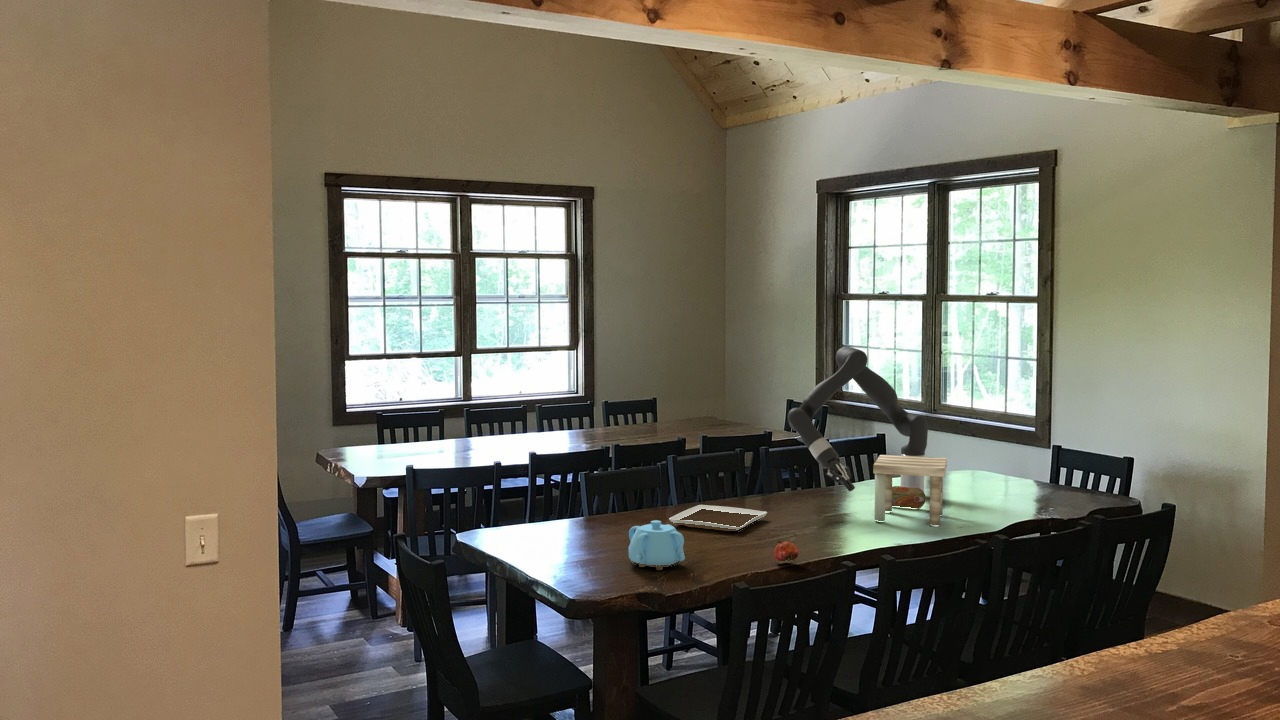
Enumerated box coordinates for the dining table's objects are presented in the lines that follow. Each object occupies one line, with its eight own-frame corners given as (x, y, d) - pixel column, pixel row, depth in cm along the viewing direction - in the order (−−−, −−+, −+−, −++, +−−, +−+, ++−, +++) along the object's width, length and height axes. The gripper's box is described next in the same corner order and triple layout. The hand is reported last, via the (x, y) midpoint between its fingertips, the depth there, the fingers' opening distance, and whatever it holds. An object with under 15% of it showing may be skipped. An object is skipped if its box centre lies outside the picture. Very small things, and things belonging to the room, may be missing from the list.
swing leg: (880, 514, 378) (881, 468, 377) (890, 515, 376) (891, 469, 375) (873, 522, 366) (874, 474, 365) (883, 522, 364) (884, 474, 363)
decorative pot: (630, 573, 301) (630, 528, 300) (627, 559, 317) (627, 515, 316) (686, 572, 302) (686, 526, 301) (679, 558, 318) (679, 514, 317)
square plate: (667, 528, 360) (667, 517, 360) (699, 513, 384) (699, 503, 384) (739, 536, 347) (739, 525, 347) (768, 520, 372) (768, 510, 371)
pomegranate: (802, 572, 309) (791, 546, 316) (805, 557, 304) (794, 531, 311) (778, 576, 308) (768, 550, 315) (781, 561, 303) (770, 535, 310)
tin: (884, 507, 393) (884, 485, 392) (886, 505, 396) (887, 484, 395) (924, 510, 386) (924, 488, 385) (926, 509, 389) (926, 487, 388)
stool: (879, 510, 387) (880, 454, 386) (945, 514, 380) (946, 457, 378) (872, 523, 364) (873, 464, 363) (943, 528, 357) (944, 468, 355)
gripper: (819, 448, 374) (849, 486, 367) (839, 444, 384) (868, 480, 377) (807, 461, 378) (836, 498, 371) (827, 457, 388) (855, 493, 380)
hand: (852, 489), depth 374 cm, fingers closed
